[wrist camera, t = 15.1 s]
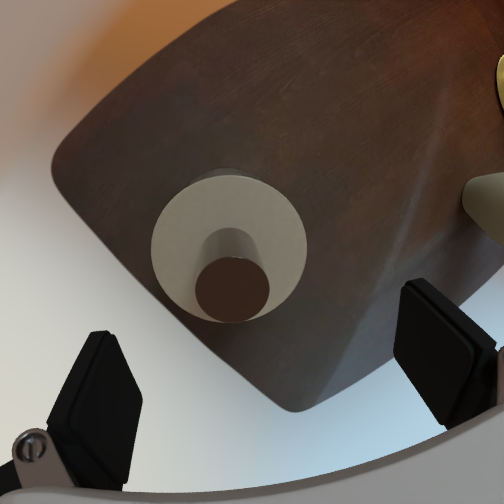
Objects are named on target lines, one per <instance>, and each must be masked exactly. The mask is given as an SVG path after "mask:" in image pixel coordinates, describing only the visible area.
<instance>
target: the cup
mask: <svg viewBox="0 0 504 504" xmlns="http://www.w3.org/2000/svg"><path fill="white" fill-rule="evenodd" d="M497 86H498V92H499V97H500V100H501V104H502V107H503V109H504V55H503V56H502V57H501V59H500V61H499V64H498V68H497Z"/></svg>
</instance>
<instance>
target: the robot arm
mask: <svg viewBox="0 0 504 504" xmlns="http://www.w3.org/2000/svg"><path fill="white" fill-rule="evenodd" d="M496 343H497V342H496V341H495V340H493V339H492V338H491V337H490V336H489V335H488V334H487V333H486V332H485V331H484V330H483V329H482V328H480V326H478V325H477V324H476V323H475V322H474V321H473V320H472V319H471V318H469V317H468V316H467V315H466V314H465V313H464V312H463V311H462V310H460V309H459V308H458V307H457V306H456V305H455V304H454V303H452V302H451V301H450V300H449V299H448V298H447V297H445V296H444V295H443V294H442V293H441V292H439V291H438V290H437V289H436V288H435V287H433V286H432V285H431V284H430V283H429V282H427V281H426V280H425V279H423V278H418V279H414V280H409V281H407V282H406V283H405V286H403V287H402V288H401V294H400V303H399V312H398V320H397V328H396V335H395V342H394V348H393V354H394V357H395V359H396V361H397V362H398V364H399V365H400V367H401V368H402V369H403V371H404V372H405V374H406V375H407V377H408V378H409V380H410V381H411V383H412V384H413V385H414V387H415V388H416V390H417V391H418V393H419V394H420V396H421V397H422V399H423V400H424V402H425V403H426V405H427V406H428V407H429V409H430V411H431V412H432V414H433V415H434V417H435V418H436V420H437V421H438V423H439V424H440V425H444V426H445V427H446V429H447V430H448V431H446V432H443V433H441V434H439V435H437V436H435V437H432V438H430V439H428V440H426V441H423V442H421V443H419V444H416V445H414V446H411V447H409V448H406V449H403V450H401V451H398V452H396V453H393V454H390V455H387V456H384V457H381V458H379V459H375V460H372V461H369V462H366V463H363V464H360V465H356V466H353V467H349V468H346V469H342V470H339V471H335V472H331V473H327V474H323V475H319V476H315V477H310V478H306V479H301V480H296V481H290V482H285V483H280V484H273V485H267V486H260V487H253V488H244V489H235V490H226V491H212V492H195V493H194V492H192V493H148V492H147V493H146V492H124V491H122V488H123V484H126V483H127V481H128V477H129V471H130V465H131V460H132V454H133V448H134V443H135V438H136V432H137V427H138V422H139V418H140V413H141V407H142V402H143V399H142V394H141V392H140V390H139V387H138V385H137V384H136V381H135V379H134V377H133V375H132V373H131V371H130V368H129V366H128V364H127V361H126V359H125V357H124V355H123V353H122V350H121V348H120V345H119V343H118V340H117V338H116V336H115V335H114V334H110V332H109V331H107V330H105V331H95V332H91V333H90V334H89V336H88V338H87V340H86V342H85V344H84V346H83V347H82V349H81V351H80V353H79V355H78V357H77V359H76V361H75V363H74V365H73V367H72V369H71V371H70V373H69V375H68V377H67V379H66V381H65V383H64V385H63V387H62V389H61V391H60V394H59V395H58V397H57V400H56V402H55V404H54V406H53V408H52V411H51V413H50V415H49V417H48V419H47V422H46V423H47V425H48V427H47V430H46V431H45V430H43V429H39V428H33V429H29V430H26V431H25V432H23V433H22V434H20V435H19V436H18V438H16V440H15V442H14V444H13V447H12V457H13V460H11V461H9V462H7V463H6V464H4V465H2V466H0V504H504V346H503V347H501V348H500V350H499V351H497V350H496V349H495V346H496Z"/></svg>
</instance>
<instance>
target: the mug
mask: <svg viewBox="0 0 504 504" xmlns="http://www.w3.org/2000/svg"><path fill="white" fill-rule="evenodd" d="M462 204H463V207H464V210H465V211H466V212H467V213H468V215H469V216H470V217H471V218H472V219H473V220H474V221H475V222H476V223H477V224H478V225H479V226H480V227H481V228H482V230H483V231H484V232H485V233H486V234H487V235H488V236H490V237H491V238H492V239H493V240H495V241H496V242H497V243H499V244H500V245H502V246H503V247H504V173H495V174H490V175H485V176H480V177H476V178H472V179H470V180H469V181H468V182H467V183H466V185H465V187H464V190H463V193H462Z"/></svg>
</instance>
